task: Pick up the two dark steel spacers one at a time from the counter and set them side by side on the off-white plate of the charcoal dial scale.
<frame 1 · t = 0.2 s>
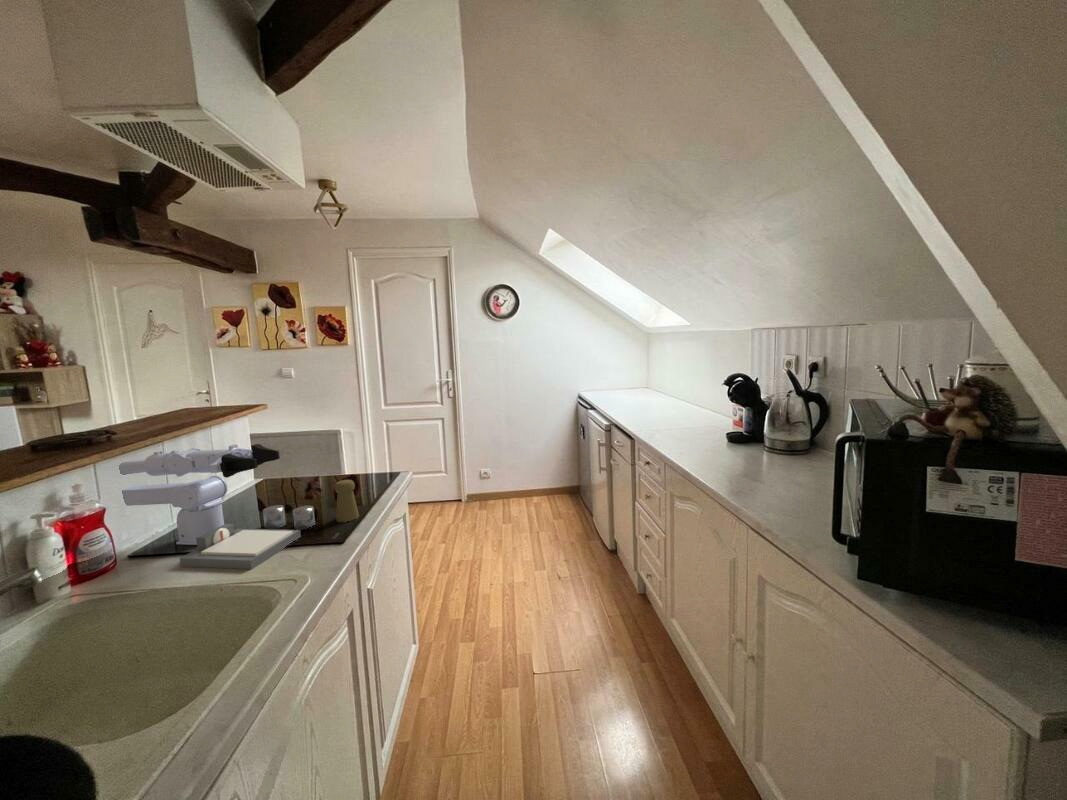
hand: (267, 459, 106), 21 cm above the worktop, tool horizontal, fingers open, 7 cm apart
cork: (347, 518, 121), on the worktop
steel spacer B: (305, 526, 117), on the worktop
kitchen scale: (244, 551, 103), on the worktop
steel spacer A: (275, 525, 118), on the worktop
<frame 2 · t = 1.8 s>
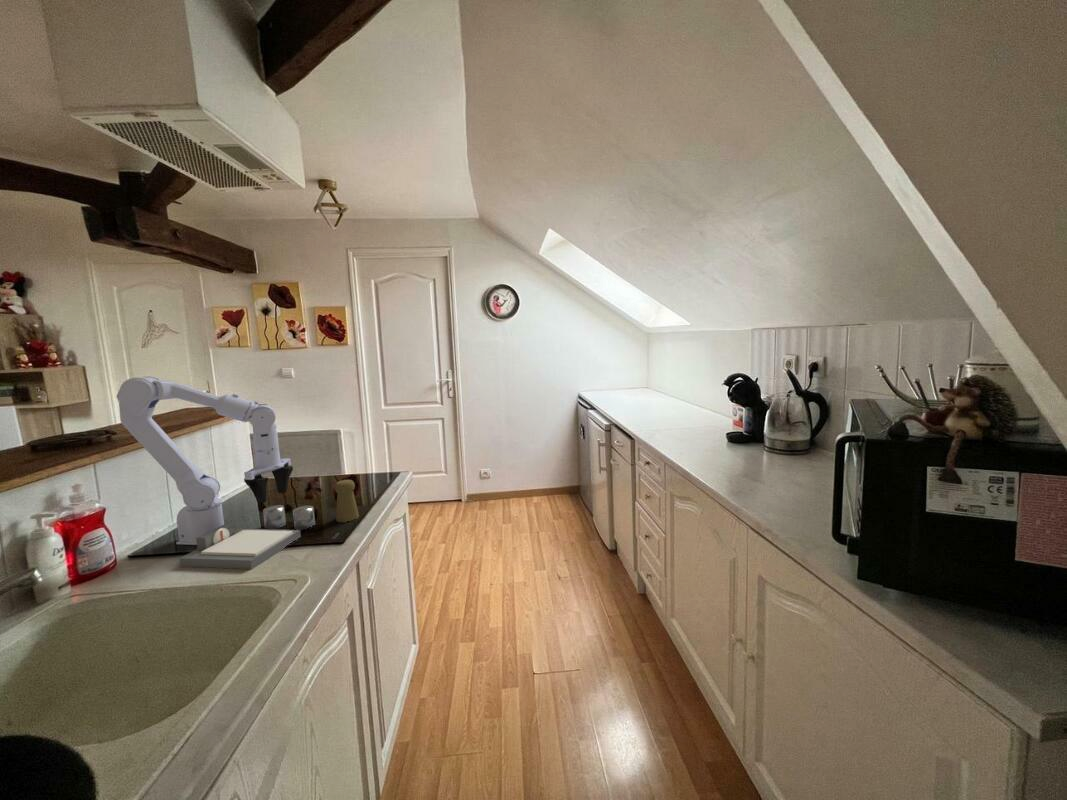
hand: (272, 497, 117), 8 cm above the worktop, tool pointing down, fingers open, 7 cm apart
nothing on the worktop moved.
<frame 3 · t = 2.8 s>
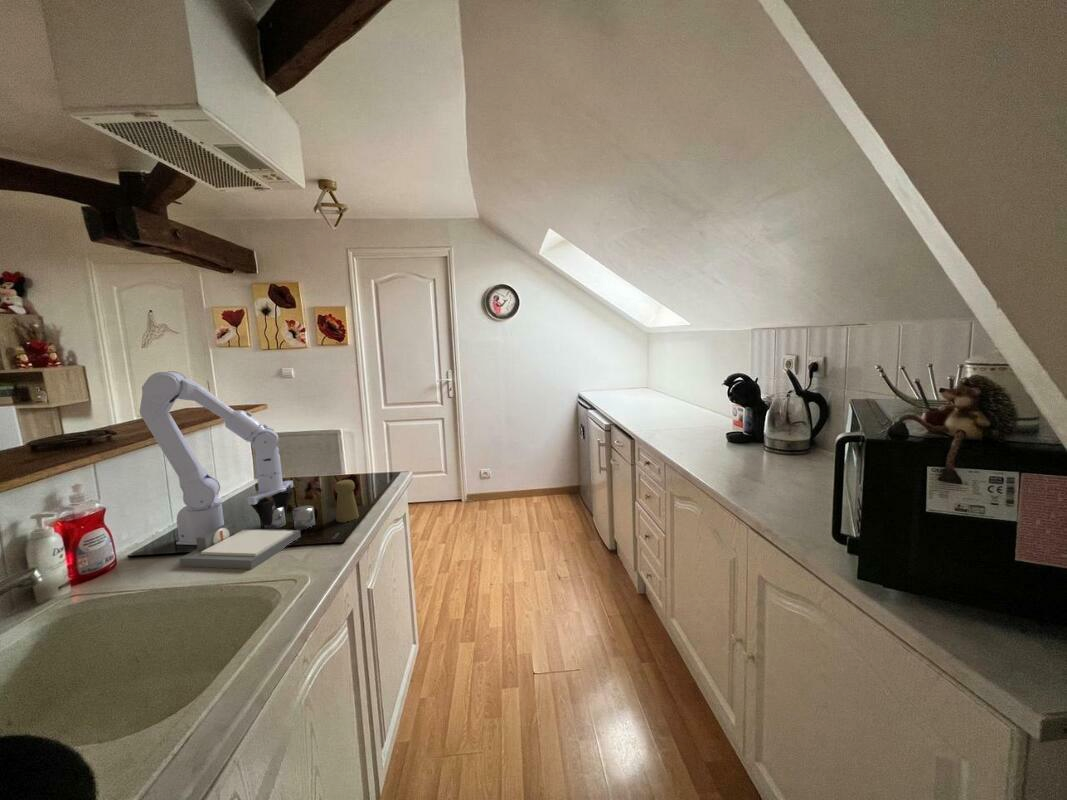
hand: (274, 520, 118), 1 cm above the worktop, tool pointing down, fingers closed on steel spacer A, 5 cm apart
steel spacer A: (275, 525, 118), on the worktop, touching gripper
everything else where it was.
when the fingers open (5 cm above the worktop, at t = 6.3 s): steel spacer A stays where it is, resting on kitchen scale.
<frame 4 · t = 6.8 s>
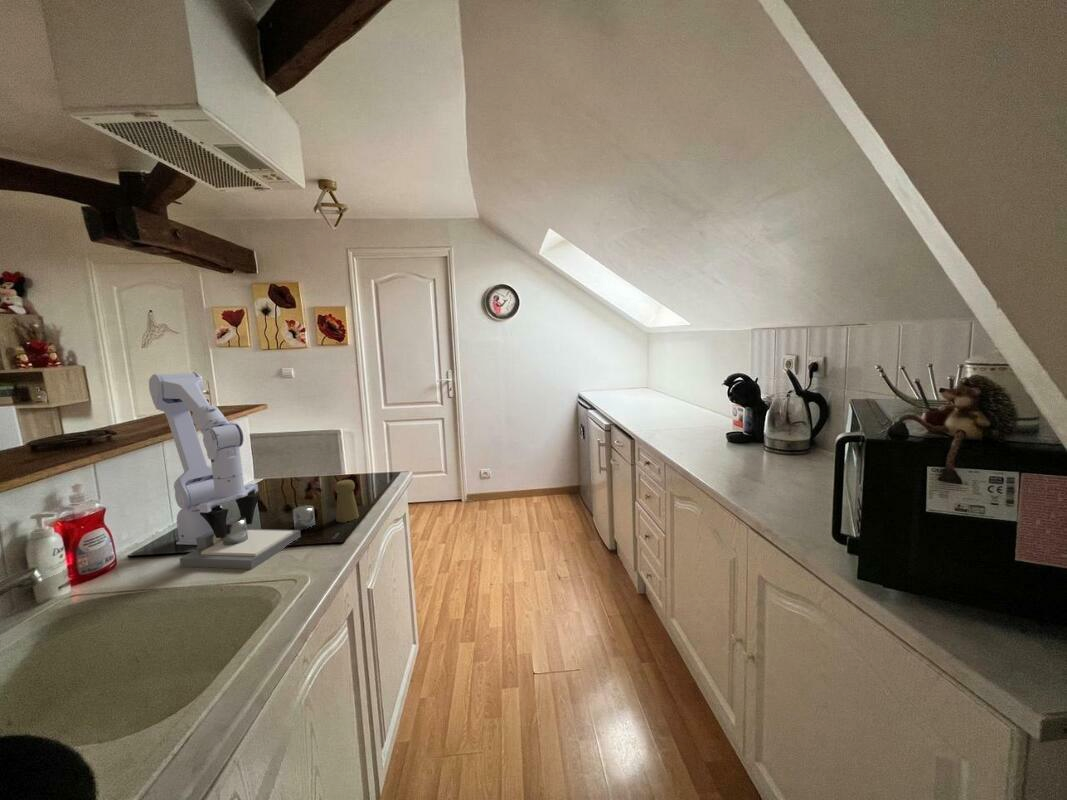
hand: (234, 530, 102), 5 cm above the worktop, tool pointing down, fingers open, 7 cm apart
steel spacer A: (235, 540, 103), point 3 cm above the worktop, touching kitchen scale
everything else where it was.
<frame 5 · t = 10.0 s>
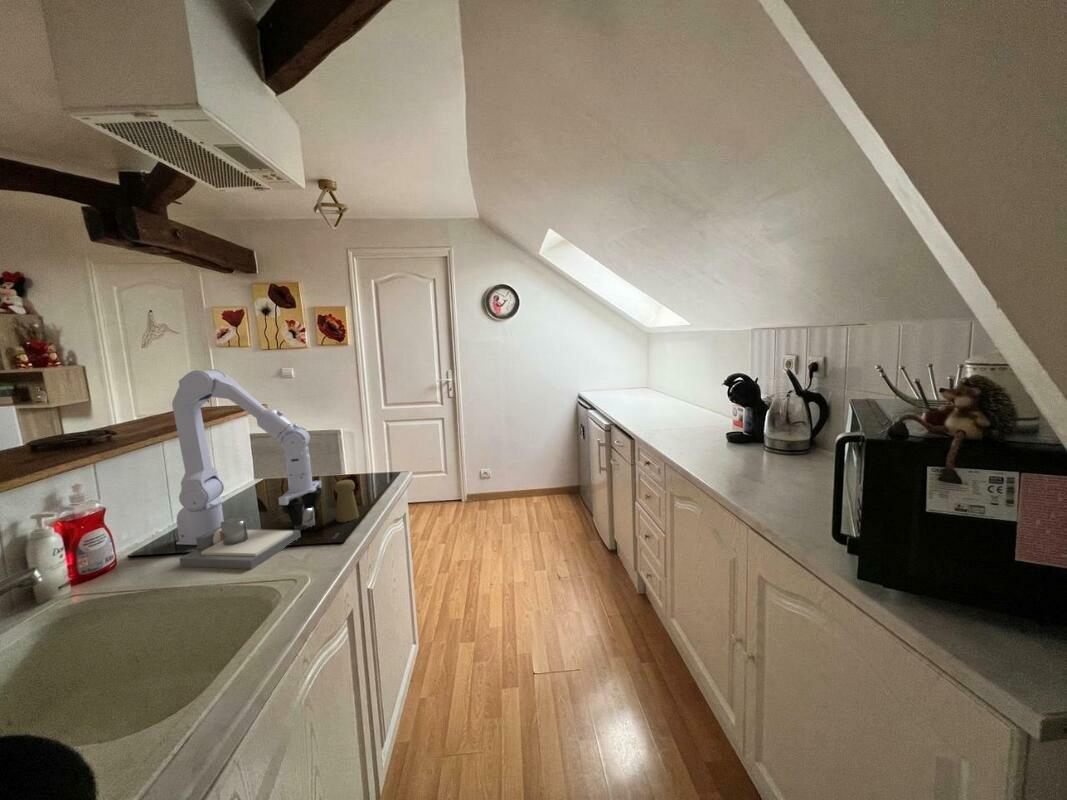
hand: (304, 521, 116), 1 cm above the worktop, tool pointing down, fingers closed on steel spacer B, 5 cm apart
steel spacer B: (304, 526, 117), on the worktop, touching gripper
everything else where it was.
when the fingers open (5 cm above the worktop, at t = 13.3 s): steel spacer B stays where it is, resting on kitchen scale.
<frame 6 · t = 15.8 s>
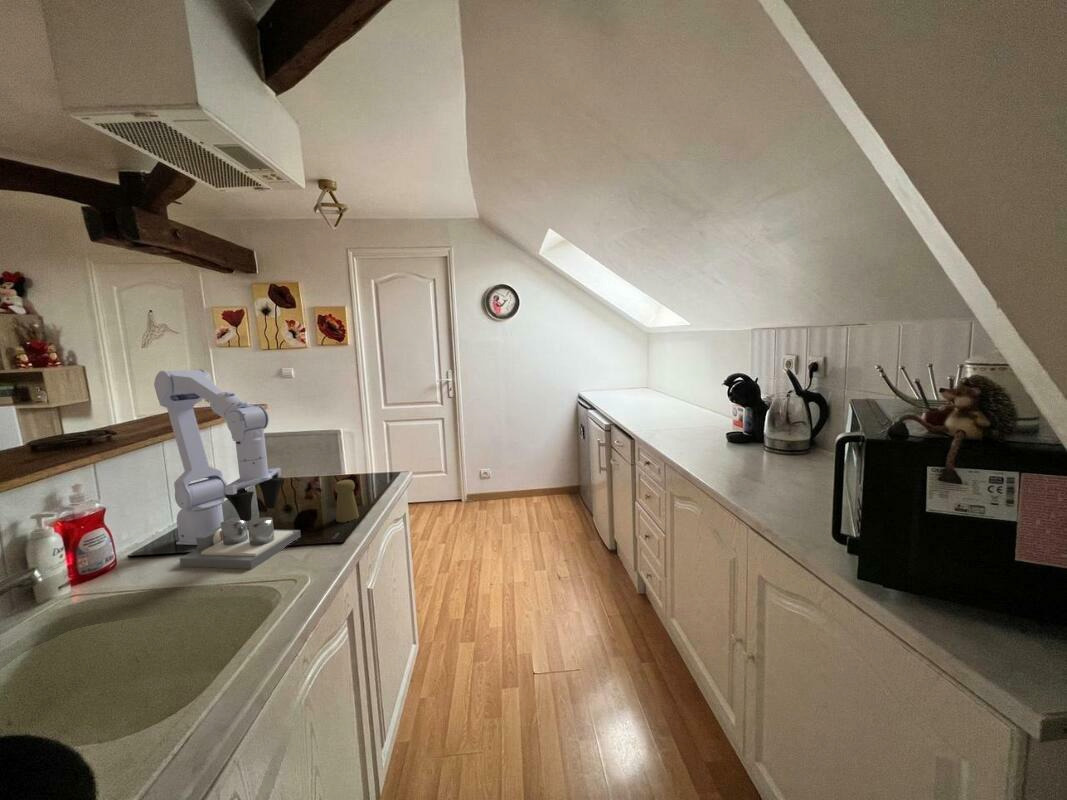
hand: (258, 514, 101), 9 cm above the worktop, tool pointing down, fingers open, 7 cm apart
steel spacer B: (262, 541, 102), point 3 cm above the worktop, touching kitchen scale
everything else where it was.
at the end: steel spacer A inside the target area on the kitchen scale (0.3 cm from its centre), point 2.6 cm above the kitchen scale's base; steel spacer B inside the target area on the kitchen scale (0.2 cm from its centre), point 2.6 cm above the kitchen scale's base; the gripper is holding nothing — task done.
